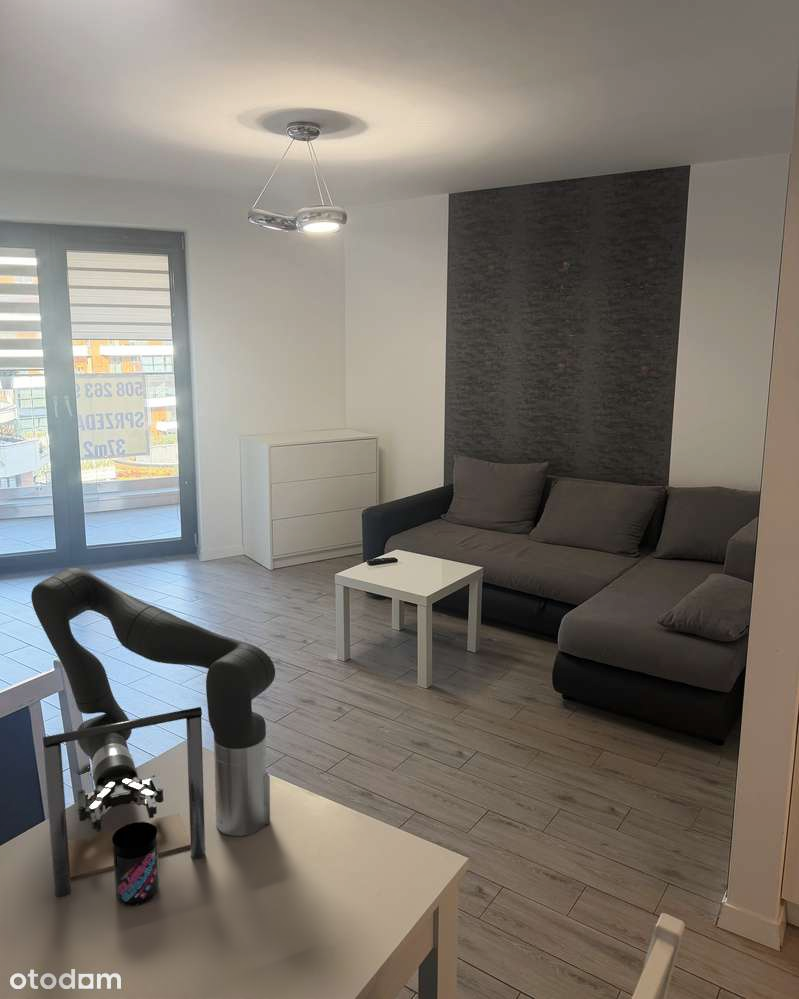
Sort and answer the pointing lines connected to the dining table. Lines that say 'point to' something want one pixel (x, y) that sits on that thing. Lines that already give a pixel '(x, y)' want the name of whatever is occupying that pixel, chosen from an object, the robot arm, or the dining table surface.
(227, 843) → the dining table surface
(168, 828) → the walnut board
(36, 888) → the dining table surface
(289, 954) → the dining table surface
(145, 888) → the supplement container
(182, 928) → the dining table surface
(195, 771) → the frame
